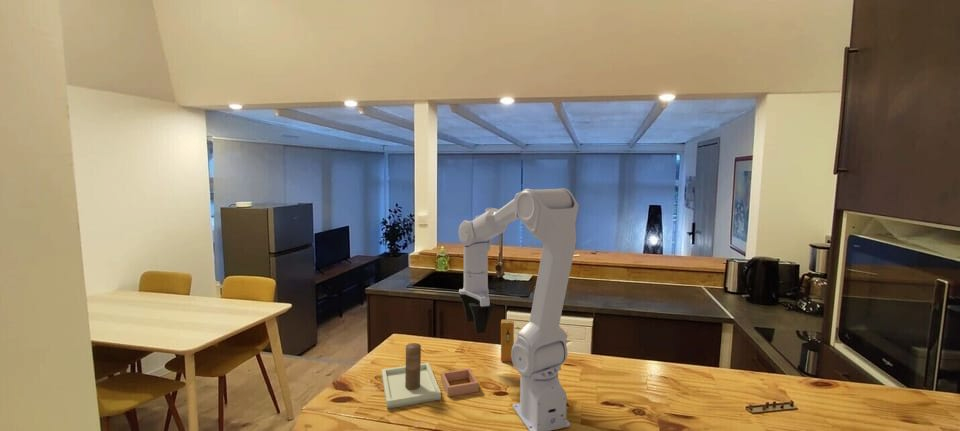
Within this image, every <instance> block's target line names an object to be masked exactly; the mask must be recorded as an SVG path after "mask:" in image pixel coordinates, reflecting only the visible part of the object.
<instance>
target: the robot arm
mask: <svg viewBox="0 0 960 431" xmlns="http://www.w3.org/2000/svg"><path fill="white" fill-rule="evenodd" d="M578 211H579V203H578V201H577V200H576V198H575V197H574V194H573V193H572V192H571V191H570V190H569V189H567V188H565V187H560V188H548V189H547V188H545V189H544V188H543V189H541V188H540V189H531V188H524V189H523V190H521V191H520V192H517V193H515V194H514V198H513V199H511V200H510V201H509V202H507V203H506V204H505V205H504V206H502V207H501V208H494V207H486V208H485V209H484V212H483V213H482V214H481V215H480V214H479V215H476V216H475V217H474V219H473V220H462V222H461V223H460V224H459V227H458V238H459V241H460V243H461V244H462V246H463V288H459V290H458V296H459V298H460V300H461V302H462V305H463V309H464V315H465V318H466V322H467V323H468V322H473V323H474V329H475V333H476V334H483V333H486V330H487V326H488V324H489V319H490V316H491V314H492V312H493V310H494V308H495V304H494V302H491V301H490V296H489V292H490V291H489V284H488V283H489V279H488V278H489V277H488V275H489V274H488V273H489V272H488V271H489V268H488V267H489V266H488V265H489V261H488V260H489V258H488V256H489V251H490V249H491V243H492V241H493V239H494V238H495V237H497V236H500V235H501V234H502V233H503V234H504V232H505V231H506V230H507V228H508V224H510V223H512V222H515V221H517V220H519V219H520V221H521V222H522V224H523V225H524V227H526V228H527V230H528V231H529V232H530V234H532V236H533V237H534V238H535V239H536V240H539V241H540V243H541V244H542V250H541V256H540V260H539V266H538V273H537V278H536V283H535V289H534V294H533V300H532V304H531V305H532V306H531V311H530V318H529V322H527V323H526V325H524V327H522V328H521V329H520V330H519V332H518V333H517V337H516V340H515V341H514V344H513V346H512V351H511V357H512V362H511V363H512V364H513V366H514V368H515V369H516V372H518V373H519V376H520V379H519V380H520V382H519V386H520V390H519V402H516V403H513V404H512V405H511V406H512V409H513V410H514V411H515V412H516V415H517V416H518V417H519V418H520V420H521V421H522V422H523V424H524V426H525V427H526V429H527V430H528V431H555V430H559V429H564V428H570V426H571V423H570V421H569V420H568V419H567V401H568V400H567V399H568V398H567V393H566V390H565V389H564V388H563V386H562V384H561V383H560V378H559V372H560V371H561V370H562V365H563V364H564V363H565V362H566V361H567V358H568V346H567V339H568V334H567V333H566V332H565V330H564V329H563V328H562V327H561V326H560V323H561V318H562V314H563V312H562V311H563V309H564V303H565V298H566V294H567V288H568V284H569V279H570V274H571V268H572V265H573V260H574V254H575V250H576V244H577V232H576V230H577V229H576V221H577V215H578Z"/></svg>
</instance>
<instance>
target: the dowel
mask: <svg viewBox="0 0 960 431" xmlns="http://www.w3.org/2000/svg"><path fill="white" fill-rule="evenodd" d="M421 352H422V345H421V343H416V342H412V343H411V342H410V343H408V344H406V345H405V366H406V372H405V387H406V388H407V389H409V390H415V389H418V388H419V387H420V365H421V364H422V361H421V356H422V353H421Z"/></svg>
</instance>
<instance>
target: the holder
mask: <svg viewBox="0 0 960 431" xmlns="http://www.w3.org/2000/svg"><path fill="white" fill-rule="evenodd" d="M465 379H466V380H467V379H468V380H469V381H468V382H464V383H459V384H454V385H453V384H452V385H450V383H449V382H452V381H459V380H465ZM440 382H441V384H442V387H443V389H444V391H445V393H446V396H447V398H449V397H456V396H460V395H466V394H472V393H477V392H479V384H480V383H479V381H478V379H477V378H476V375H474V373H473V372H472V370H471V368H463V369H457V370H450V371H445V372H440Z"/></svg>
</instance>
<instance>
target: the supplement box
mask: <svg viewBox="0 0 960 431" xmlns="http://www.w3.org/2000/svg"><path fill="white" fill-rule="evenodd" d="M514 325H515V321H514V319H501V321H500V361H501V363H502V362H503V363H504V362H507V363H509V362H510V363H513V362H512V357H511V351H512V346H513V344H514V343H515V341H514V340H515V338H514V336H515V334H514V330H515V329H514V328H515V326H514Z"/></svg>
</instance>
